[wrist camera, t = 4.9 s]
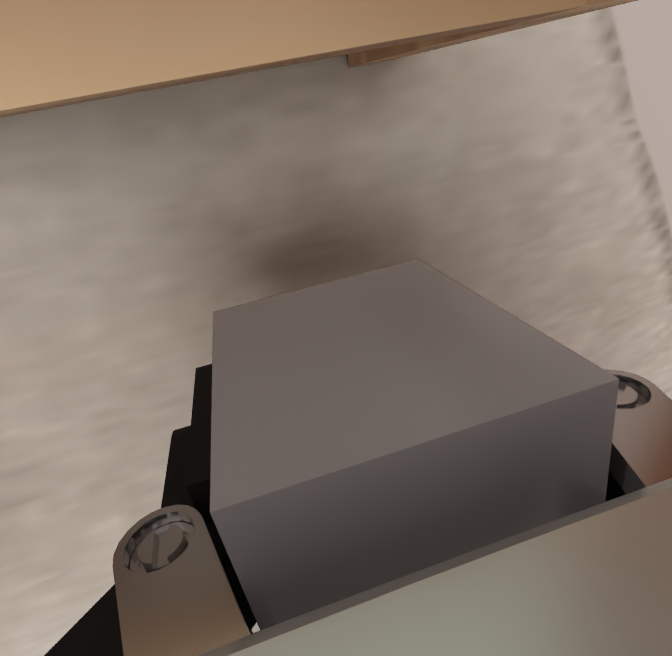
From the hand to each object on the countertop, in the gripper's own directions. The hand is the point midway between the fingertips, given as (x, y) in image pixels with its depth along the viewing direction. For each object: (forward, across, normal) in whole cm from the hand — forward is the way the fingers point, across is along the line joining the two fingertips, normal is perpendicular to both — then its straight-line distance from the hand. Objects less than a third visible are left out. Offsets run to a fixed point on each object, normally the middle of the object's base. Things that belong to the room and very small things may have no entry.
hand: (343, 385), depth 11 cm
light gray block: (+1, 0, 0) cm, 1 cm away
